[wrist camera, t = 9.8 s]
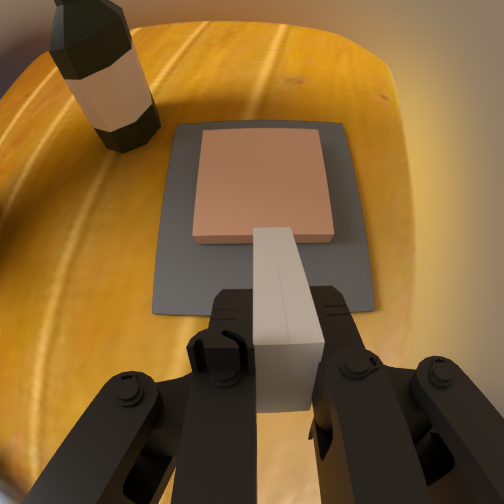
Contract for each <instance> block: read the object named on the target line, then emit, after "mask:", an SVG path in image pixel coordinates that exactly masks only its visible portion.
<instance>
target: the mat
mask: <svg viewBox="0 0 504 504" xmlns="http://www.w3.org/2000/svg"><path fill="white" fill-rule="evenodd" d="M241 128H295V129H318V133H319V138H320V143H321V148H322V154H323V160H324V165H325V171H326V178H327V184H328V191H329V197H330V205H331V212H332V220H333V228H334V236H333V237H332V239H331V240H330V242H329V243H296V246H297V249H298V252H299V256H300V259H301V262H302V265H303V269H304V272H305V275H306V279H307V282H308V285H309V286H328V285H332V286H333V287H335V288H336V289H337V290H338V291H339V292H340V293H342V295H343V297H344V299H345V302H346V304H347V307H348V308H349V311H350V313H357V312H370V311H374V310H375V308H374V296H373V286H372V276H371V267H370V259H369V252H368V244H367V238H366V231H365V225H364V219H363V213H362V207H361V202H360V197H359V192H358V187H357V182H356V177H355V173H354V168H353V164H352V159H351V155H350V151H349V147H348V143H347V139H346V135H345V131H344V128H343V124H342V123H330V122H314V121H289V120H245V121H220V122H204V123H192V124H181V125H177V127H176V132H175V136H174V141H173V146H172V151H171V157H170V162H169V168H168V173H167V179H166V185H165V192H164V198H163V205H162V212H161V220H160V227H159V236H158V244H157V254H156V264H155V275H154V288H153V303H152V314H157V315H181V316H211V312H212V306H213V301H214V298H215V297H216V296H217V295H218V293H219V292H220V291H221V290H222V289H253V243H241V244H197V243H196V242H195V240H194V238H193V236H192V233H193V221H194V209H195V198H196V188H197V179H198V170H199V161H200V152H201V144H202V137H203V130H217V129H241Z"/></svg>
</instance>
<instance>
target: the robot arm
mask: <svg viewBox="0 0 504 504" xmlns="http://www.w3.org/2000/svg"><path fill="white" fill-rule="evenodd" d="M186 348H187V352H188V356H189V360H190V364H191V368H192V372H191V373H189V374H187V375H185V376H183V377H180V378H177V379H173V380H167V381H162V382H156V383H155V382H154V380H153V379H152V378H151V377H150V376H148V375H146V374H144V373H143V372H136V371H128V372H122V373H120V374H118V375H116V376H113V377H112V378H111V379H110V380H109V381H108V382H107V383H105V385H104V386H103V387H102V389H101V390H100V391H99V393H98V394H97V395H96V397H95V398H94V399H93V401H92V402H91V404H90V405H89V406H88V408H87V409H86V410H85V412H84V413H83V415H82V416H81V417H80V419H79V420H78V421H77V423H76V424H75V426H74V427H73V428H72V430H71V431H70V433H69V434H68V435H67V437H66V438H65V440H64V441H63V443H62V444H61V445H60V447H59V448H58V450H57V451H56V453H55V454H54V456H53V457H52V458H51V460H50V461H49V463H48V464H47V466H46V467H45V469H44V470H43V472H42V473H41V475H40V476H39V478H38V479H37V481H36V482H35V484H34V485H33V487H32V488H31V490H30V491H29V493H28V495H27V496H26V498H25V499H24V501H23V502H22V504H158V503H159V501H160V499H161V497H162V495H163V493H164V490H165V488H166V486H167V484H168V482H169V480H170V478H171V476H172V474H173V472H174V470H175V467H176V471H175V478H174V484H173V491H172V497H171V504H257V423H256V413H274V412H294V411H307V410H310V407H311V403H312V404H313V410H314V418H313V421H312V424H311V428H310V431H309V437H308V440H310V439H312V438H313V439H314V447H315V454H316V462H317V470H318V478H319V486H320V495H321V504H504V418H503V417H502V416H501V415H500V414H499V412H498V411H497V410H496V409H495V407H494V406H493V405H492V404H491V403H490V402H489V400H488V399H487V398H486V397H485V396H484V394H483V393H482V392H481V391H480V390H479V389H478V388H477V386H476V385H475V384H474V383H473V382H472V381H471V380H470V379H469V377H468V376H467V375H466V374H465V373H464V372H463V371H462V370H461V368H459V366H458V365H456V364H455V363H454V362H453V361H452V360H450V359H447V358H444V357H441V356H431V357H427V358H425V359H424V360H422V361H421V362H420V363H419V365H418V367H417V369H416V370H414V369H404V368H394V367H390V366H386V365H383V363H382V361H381V360H380V359H379V357H378V356H377V355H375V354H374V353H372V352H371V351H369V350H366V349H365V346H364V344H363V342H362V339H361V337H360V334H359V332H358V329H357V327H356V325H355V322H354V320H353V318H352V315H351V313H350V311H349V308H348V307H347V304H346V302H345V299H344V297H343V295H342V293H340V292H339V291H338V290H337V289H336V288H335V287H333V286H332V285H328V286H309V285H308V282H307V279H306V275H305V272H304V269H303V265H302V262H301V259H300V256H299V252H298V249H297V246H296V243H295V240H294V237H293V234H292V230H291V227H265V228H253V289H222V290H221V291H220V292H219V293H218V295H217V296H216V297H215V298H214V301H213V306H212V312H211V316H210V322H209V327H208V329H205V330H202V331H200V332H198V333H197V334H196V335H195V336H193V337H192V338H191V339H190V341H189V343H188V345H187V347H186Z"/></svg>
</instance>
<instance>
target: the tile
mask: <svg viewBox="0 0 504 504" xmlns="http://www.w3.org/2000/svg"><path fill="white" fill-rule="evenodd" d="M265 227H291V230H292V234H293V237H294V240H295V243H329V242H330V240H331V239H332V237H333V236H334V228H333V220H332V212H331V205H330V197H329V191H328V184H327V178H326V171H325V165H324V160H323V154H322V148H321V143H320V138H319V133H318V129H295V128H241V129H217V130H203V137H202V144H201V152H200V161H199V170H198V179H197V188H196V198H195V209H194V221H193V233H192V236H193V238H194V240H195V242H196V243H197V244H241V243H253V228H265Z"/></svg>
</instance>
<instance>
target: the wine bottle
mask: <svg viewBox="0 0 504 504" xmlns="http://www.w3.org/2000/svg"><path fill="white" fill-rule="evenodd" d="M54 2H55V4H56V6H57V8H56V12H55V17H54V22H53V27H52V33H51V40H50V47H49V53H50V55H51V56H52V58H53V60H54V62H55V64H56V65H57V67H58V69H59V71H60V73H61V74H62V76H63V78H64V80H65V81H66V83H67V85H68V86H69V88H70V90H71V92H72V93H73V95H74V97H75V98H76V100H77V102H78V103H79V105H80V107H81V108H82V110H83V111H84V113H85V115H86V116H87V118H88V120H89V121H90V123H91V124H92V126H93V128H94V129H95V131H96V132H97V134H98V135H99V137H100V138H101V140H102V142H103V143H104V145H105V146H106V148H108V149H111V150H114V151H117V152H120V153H125V152H128V151H130V150H132V149H135V148H138V147H140V146H143V145H145V144H147V143H148V141H149V140H150V139H151V138H152V136H153V135H154V134H155V133H156V132H157V130H158V129H159V128H160V127H161V125H160V120H159V115H158V111H157V108H156V105H155V103H154V100H153V97H152V94H151V92H150V89H149V86H148V83H147V81H146V78H145V75H144V72H143V69H142V67H141V64H140V61H139V58H138V55H137V52H136V49H135V46H134V43H133V41H132V38H131V35H130V32H129V29H128V26H127V23H126V20H125V16H124V13H123V10H122V8H121V7H119V6H117V5H116V4H114V3H113V2H111V1H109V0H54Z"/></svg>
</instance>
